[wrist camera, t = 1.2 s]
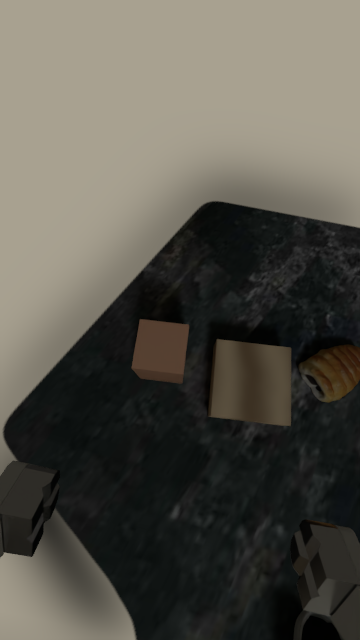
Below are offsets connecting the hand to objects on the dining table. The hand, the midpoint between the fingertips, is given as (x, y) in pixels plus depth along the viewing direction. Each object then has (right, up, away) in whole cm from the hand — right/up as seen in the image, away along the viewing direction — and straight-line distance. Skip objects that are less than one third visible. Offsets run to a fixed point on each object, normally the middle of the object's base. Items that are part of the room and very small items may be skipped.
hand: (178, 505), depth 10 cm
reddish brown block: (-2, 0, +34) cm, 34 cm away
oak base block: (+9, -3, +33) cm, 34 cm away
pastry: (+21, -2, +34) cm, 40 cm away
